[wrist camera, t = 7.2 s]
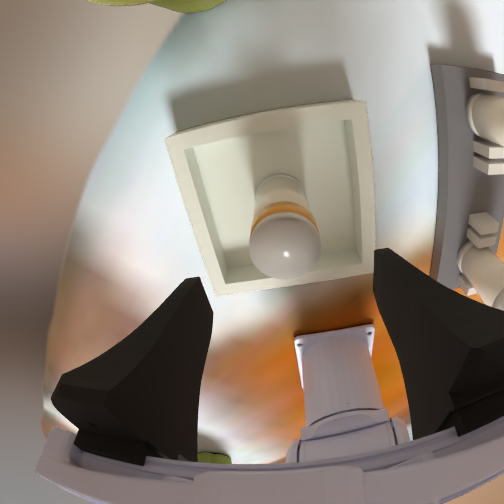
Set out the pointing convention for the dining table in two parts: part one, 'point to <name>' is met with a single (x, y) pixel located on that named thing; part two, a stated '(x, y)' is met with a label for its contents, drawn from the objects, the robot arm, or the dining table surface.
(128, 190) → the dining table surface
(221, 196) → the tray
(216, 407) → the dining table surface
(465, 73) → the fuse holder
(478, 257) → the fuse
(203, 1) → the plant pot
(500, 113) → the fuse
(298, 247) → the cylinder
